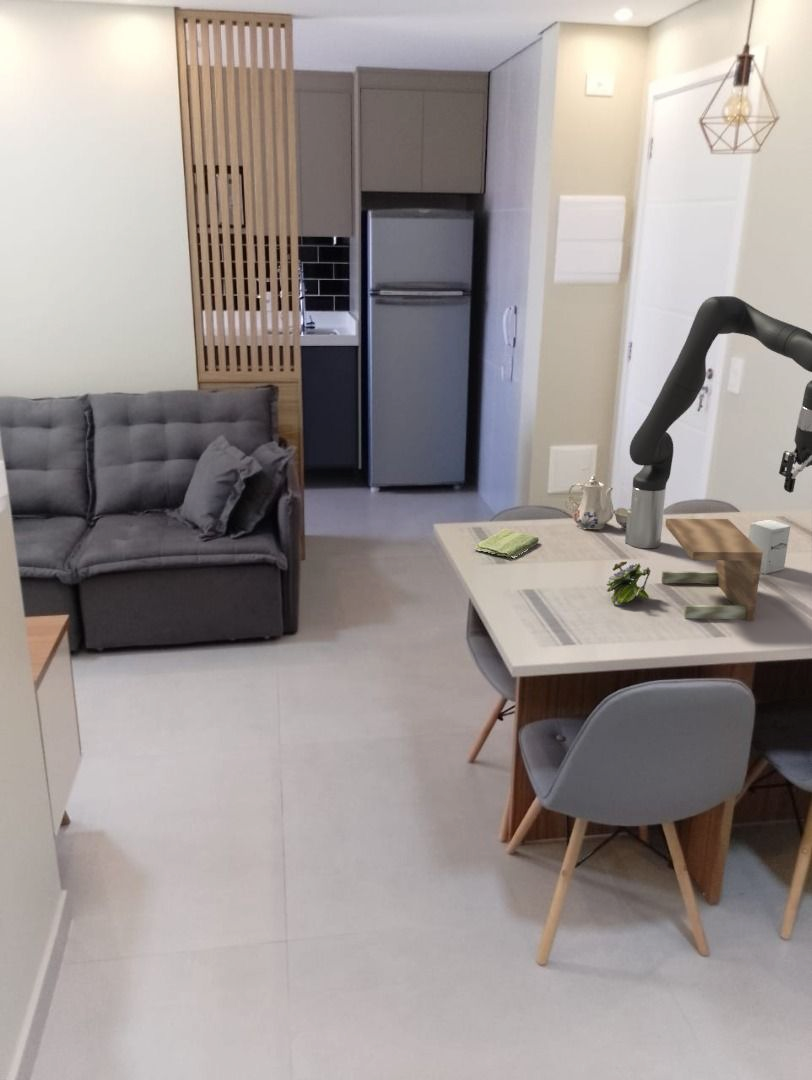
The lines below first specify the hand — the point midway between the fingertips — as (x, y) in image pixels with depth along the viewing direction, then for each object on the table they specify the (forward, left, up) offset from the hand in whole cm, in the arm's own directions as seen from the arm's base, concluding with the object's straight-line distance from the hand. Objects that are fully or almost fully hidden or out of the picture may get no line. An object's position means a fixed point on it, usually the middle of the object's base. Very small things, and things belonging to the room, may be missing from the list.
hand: (802, 487), depth 213 cm
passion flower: (-29, -29, -28) cm, 49 cm away
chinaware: (-64, +20, -28) cm, 73 cm away
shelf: (-14, -18, -27) cm, 36 cm away
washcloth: (-73, -16, -28) cm, 80 cm away
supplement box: (-10, +14, -28) cm, 32 cm away
